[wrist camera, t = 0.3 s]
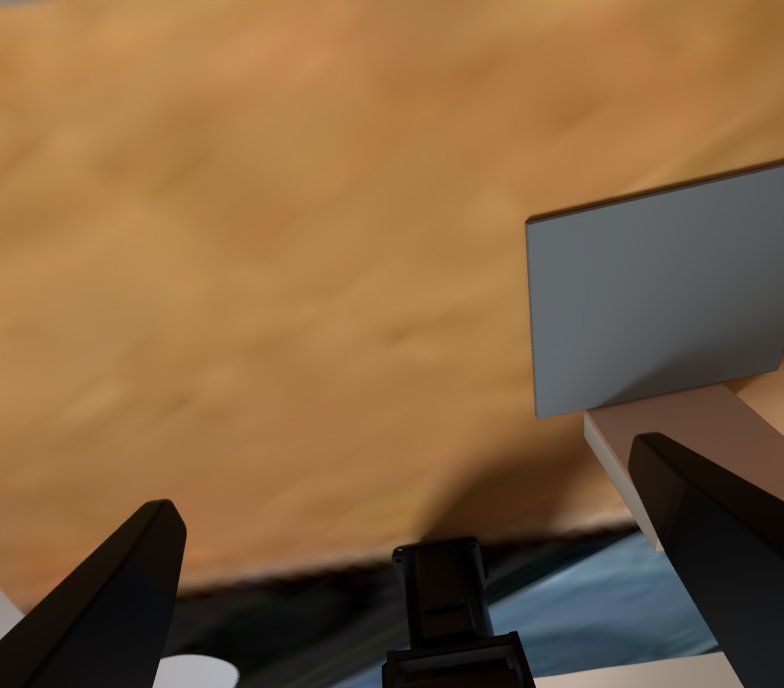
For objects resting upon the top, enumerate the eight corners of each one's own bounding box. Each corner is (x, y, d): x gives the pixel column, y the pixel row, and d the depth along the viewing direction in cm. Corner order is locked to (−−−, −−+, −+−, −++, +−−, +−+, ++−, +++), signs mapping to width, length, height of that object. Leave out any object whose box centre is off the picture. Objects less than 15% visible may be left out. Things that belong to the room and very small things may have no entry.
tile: (711, 410, 28) (826, 520, 21) (583, 436, 28) (655, 552, 21) (718, 380, 27) (843, 487, 20) (584, 407, 27) (660, 521, 20)
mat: (772, 366, 26) (777, 370, 26) (535, 414, 27) (537, 419, 27) (836, 151, 20) (844, 152, 20) (524, 222, 21) (527, 224, 20)
